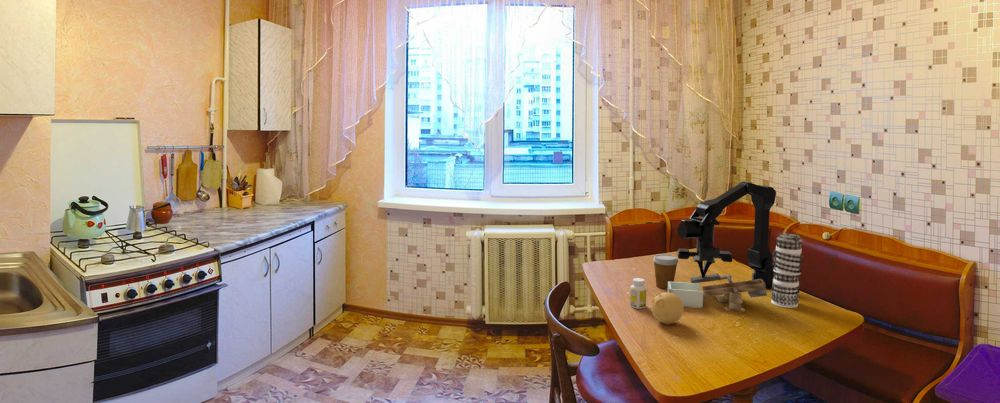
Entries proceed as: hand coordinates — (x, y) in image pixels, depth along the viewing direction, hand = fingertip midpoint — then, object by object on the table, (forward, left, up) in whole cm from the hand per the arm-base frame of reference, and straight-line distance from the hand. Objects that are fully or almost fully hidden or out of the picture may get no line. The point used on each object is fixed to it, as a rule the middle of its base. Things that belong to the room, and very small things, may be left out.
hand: (702, 277), depth 189 cm
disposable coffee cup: (+13, -5, -6) cm, 16 cm away
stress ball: (+14, +33, -6) cm, 37 cm away
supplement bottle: (+23, +20, -6) cm, 31 cm away
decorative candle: (-27, +5, -6) cm, 28 cm away
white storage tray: (+7, +12, -6) cm, 15 cm away
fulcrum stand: (-9, +10, -6) cm, 15 cm away
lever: (-8, +8, -3) cm, 11 cm away
